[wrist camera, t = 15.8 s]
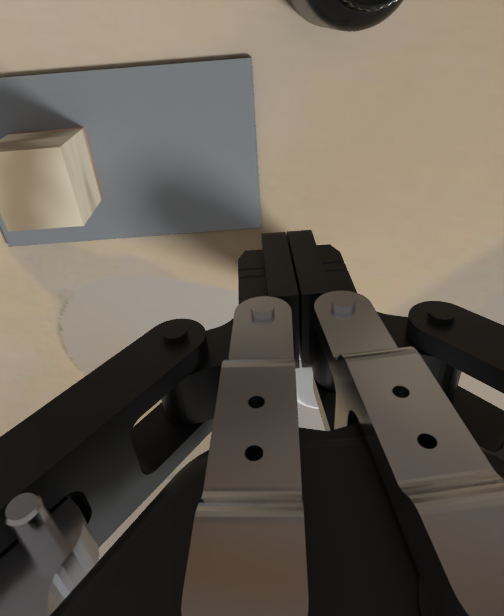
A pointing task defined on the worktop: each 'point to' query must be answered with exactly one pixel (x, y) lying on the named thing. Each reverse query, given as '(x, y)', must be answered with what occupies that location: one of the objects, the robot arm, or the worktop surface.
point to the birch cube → (47, 180)
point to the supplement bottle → (345, 12)
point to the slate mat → (150, 145)
